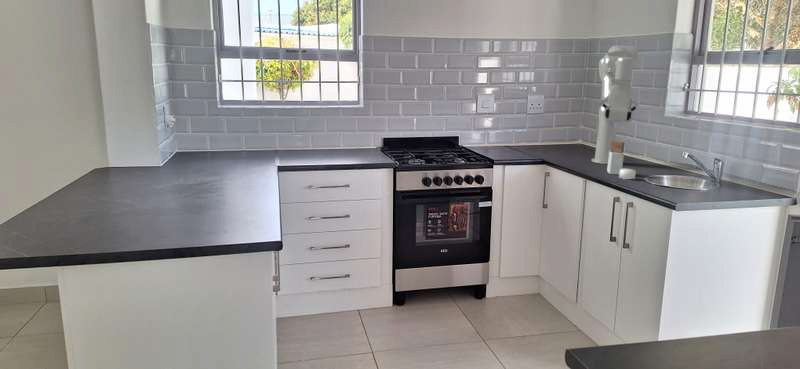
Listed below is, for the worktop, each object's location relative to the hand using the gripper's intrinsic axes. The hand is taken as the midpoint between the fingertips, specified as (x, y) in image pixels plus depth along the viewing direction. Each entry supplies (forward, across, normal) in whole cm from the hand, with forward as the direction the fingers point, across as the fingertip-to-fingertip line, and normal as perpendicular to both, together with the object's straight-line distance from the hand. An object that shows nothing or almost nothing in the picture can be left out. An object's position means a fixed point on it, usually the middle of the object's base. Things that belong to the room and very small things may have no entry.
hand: (617, 119), depth 274 cm
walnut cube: (+16, +2, -2) cm, 16 cm away
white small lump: (+26, +10, -11) cm, 30 cm away
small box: (+27, +2, -2) cm, 27 cm away
